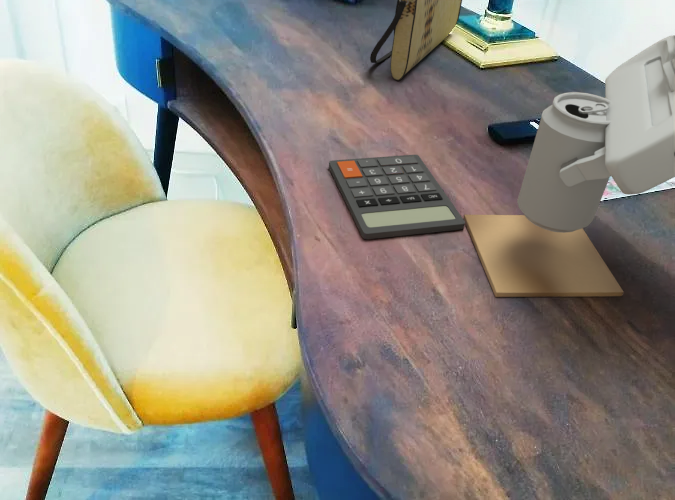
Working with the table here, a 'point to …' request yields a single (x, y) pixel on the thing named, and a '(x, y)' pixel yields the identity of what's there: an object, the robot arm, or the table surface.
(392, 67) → the clutch purse
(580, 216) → the can
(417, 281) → the table surface
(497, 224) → the cork mat
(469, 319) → the table surface
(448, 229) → the calculator
